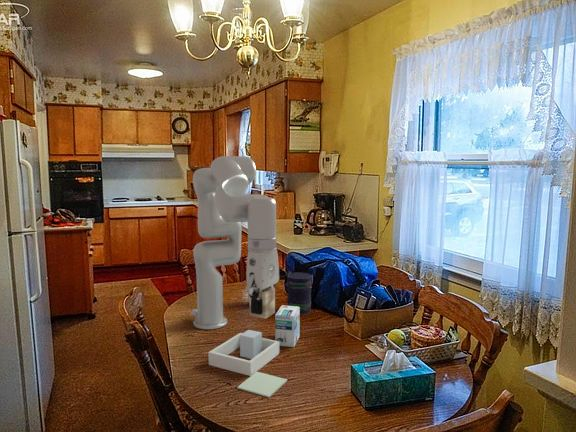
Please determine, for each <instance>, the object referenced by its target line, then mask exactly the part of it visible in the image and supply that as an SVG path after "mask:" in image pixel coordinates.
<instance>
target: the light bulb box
mask: <svg viewBox="0 0 576 432" xmlns="http://www.w3.org/2000/svg"><path fill="white" fill-rule="evenodd" d="M300 316H301V315H300V307H297V306H288V305H287V304H285V305H284V304H282V305H281V306H279V309H278V310H277V312H275V314H274V317H275V318H274V320H275V321H274V322H275V324H274V327H275V330H274V333H275V334H274V335H275V338H274V339H275V341H279V347H290V348H295V346H296V344H297V342H298V340H299V338H300V336H301V335H300V325H301V324H300V320H301V318H300Z"/></svg>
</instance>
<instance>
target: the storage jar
mask: <svg viewBox="0 0 576 432" xmlns="http://www.w3.org/2000/svg"><path fill="white" fill-rule="evenodd" d="M286 287H287V297H286V298H287V299H286V300H287V301H286V306H297V307H300V316H303V315H308V314H309V313H311V311H312V310H311V309H312V308H311V307H312V297H311V289H312V274H310V273H307V272H298V271H297V272H290V273H288V274H287V282H286Z"/></svg>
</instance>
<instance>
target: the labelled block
mask: <svg viewBox="0 0 576 432" xmlns="http://www.w3.org/2000/svg"><path fill="white" fill-rule="evenodd" d="M255 292H256V293H257V294H258V290H255ZM248 297H249V301H248V302H249V309H248V310H249V317H254V318H255V317H256V318H260V319H268V318H270V317H271V316H273V315H275V314H276V288H275V287H274V288H272V287H268V288H266V289H263V290H262V294H261V299H262V314H261V315H259V314H254V313H251V299H250V296H249V295H248Z"/></svg>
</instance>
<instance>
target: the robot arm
mask: <svg viewBox="0 0 576 432" xmlns="http://www.w3.org/2000/svg"><path fill="white" fill-rule="evenodd" d="M256 174H257V168H256V163H255V161H254V160H253V159H252V158H251V157H249V156H245V155H243V156H240V155H239V156H237V155H230V156H229V155H224V156H223V155H222V156H219V157H216V158H215V159H213V160H212V162H211V164H210V167H202V168H198V169H196V170H195V171H194V173H193V176H192V185H193V189H194V193H195V195H196V198H197V231H198V234H199V237H201V238H203V239H216V240H205V241H201V242H198V243H196V244H195V246H194V247H193V259H194V265H195V274H196V306H197V308H193V309H191V312H190V313H189V314H190V317H191V316H192V317H195V319H194V320H193V322H192V323H193V327H195V328H196V329H198V330H199V329H200V330H216V329H220V328H223V327H225V326H226V325H227V324H228V319H227V318H226V316H224V295H223V294H224V291H223V289H224V288H223V277H222V274H221V273H220V272H219V271H218V269H217V267H221V266H229V265H235V264H237V263H238V262H240V261H241V257H242V230H243V229H242V228H243V227H242V223H246V222H247V250H248V251H247V259H246V271H245V272H246V275H245V276H246V277H245V278H246V287H245V293H247V294H248V297H249V296H250V299H251V313H254V314H259V315H261V314H262V299H261V294H262V290H263V289H266V288H268V287H272V288H275V286H276V284H277V283H278V282H279V280H280V267H279V266H280V264H279V254H278V248H277V202H276V199H275V198H273V197H268V196H267V195H265V194H257V193H256V194H245V193H246V192H247V190H248V189H249V186H250V184H251V183H252V182H253V181H254V180H255V178H256ZM218 238H219V240H218ZM223 238H227V239H223ZM255 285H256V286H257V287H255ZM255 290H258V294H257V293H256V292H255Z"/></svg>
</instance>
